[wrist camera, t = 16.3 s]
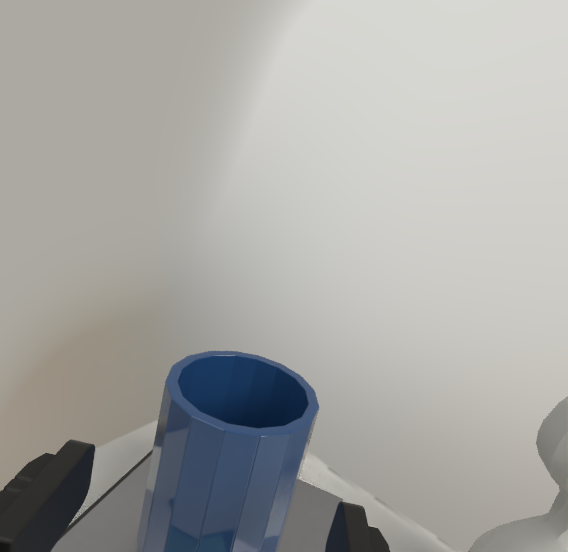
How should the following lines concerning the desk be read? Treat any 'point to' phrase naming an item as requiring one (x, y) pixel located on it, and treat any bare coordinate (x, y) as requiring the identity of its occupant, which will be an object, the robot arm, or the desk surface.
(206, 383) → the cup
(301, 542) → the scale pan
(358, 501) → the desk surface
